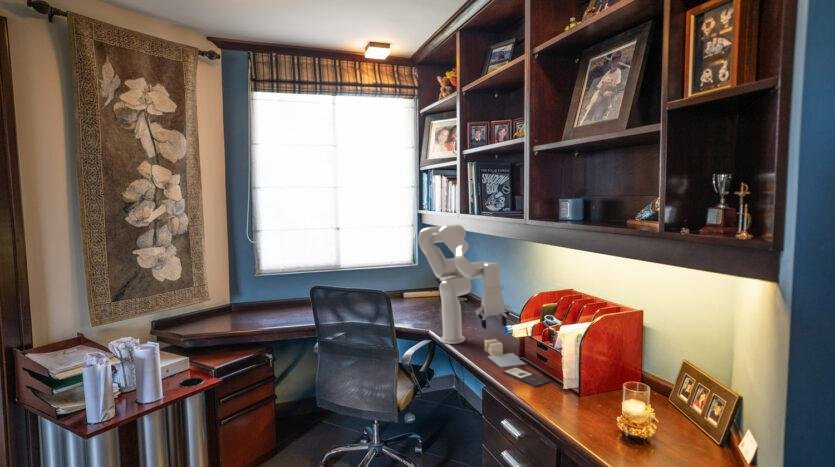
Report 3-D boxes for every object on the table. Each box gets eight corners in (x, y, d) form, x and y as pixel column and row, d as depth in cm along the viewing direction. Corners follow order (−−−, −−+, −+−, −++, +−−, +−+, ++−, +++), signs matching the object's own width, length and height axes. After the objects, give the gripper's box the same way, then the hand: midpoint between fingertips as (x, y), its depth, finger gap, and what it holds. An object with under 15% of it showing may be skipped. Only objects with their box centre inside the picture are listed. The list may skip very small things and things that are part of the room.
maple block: (484, 350, 212) (484, 340, 211) (495, 349, 213) (495, 338, 213) (491, 356, 204) (491, 345, 204) (502, 354, 205) (502, 343, 205)
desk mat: (487, 356, 202) (487, 356, 202) (512, 353, 205) (512, 353, 205) (500, 367, 189) (500, 366, 189) (527, 364, 192) (527, 363, 192)
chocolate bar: (535, 386, 167) (502, 371, 183) (535, 388, 167) (502, 374, 183) (552, 380, 172) (518, 367, 187) (552, 382, 172) (518, 369, 187)
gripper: (506, 286, 212) (508, 323, 213) (471, 290, 208) (473, 327, 209) (513, 289, 205) (515, 326, 206) (477, 292, 201) (479, 331, 202)
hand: (494, 326), depth 207 cm, fingers open, 9 cm apart
